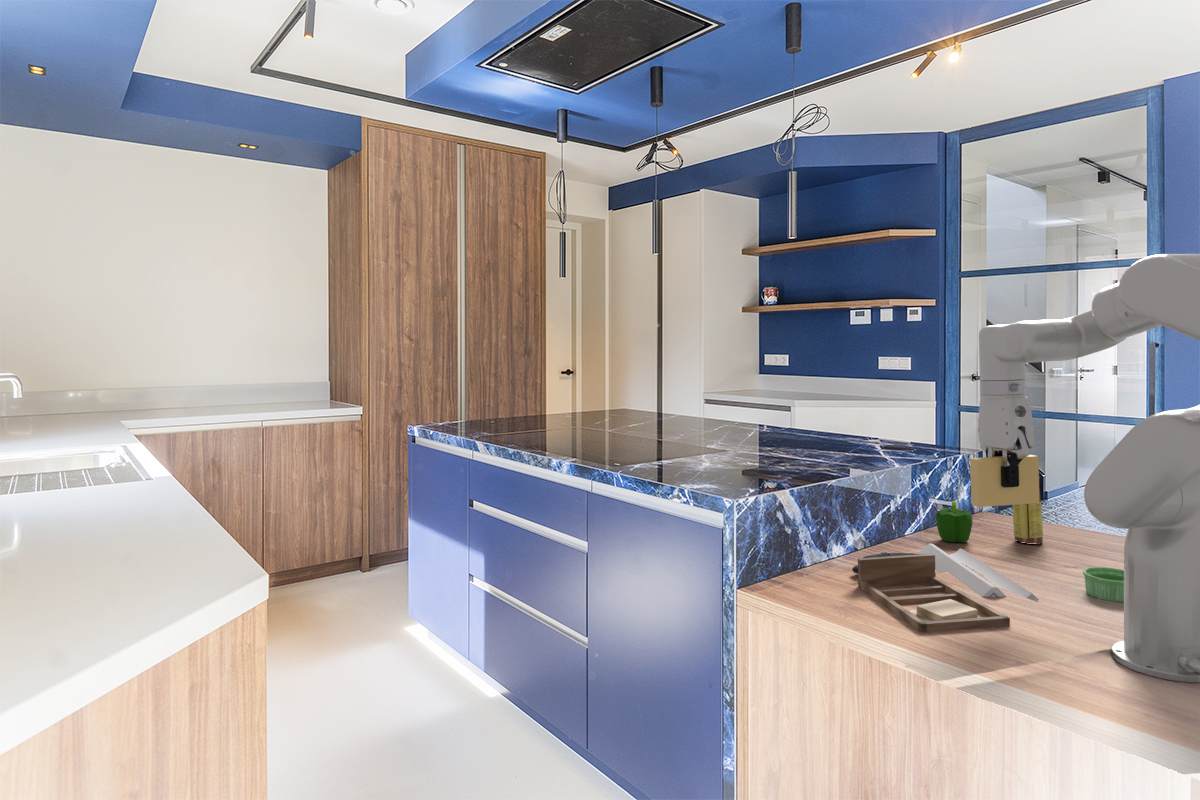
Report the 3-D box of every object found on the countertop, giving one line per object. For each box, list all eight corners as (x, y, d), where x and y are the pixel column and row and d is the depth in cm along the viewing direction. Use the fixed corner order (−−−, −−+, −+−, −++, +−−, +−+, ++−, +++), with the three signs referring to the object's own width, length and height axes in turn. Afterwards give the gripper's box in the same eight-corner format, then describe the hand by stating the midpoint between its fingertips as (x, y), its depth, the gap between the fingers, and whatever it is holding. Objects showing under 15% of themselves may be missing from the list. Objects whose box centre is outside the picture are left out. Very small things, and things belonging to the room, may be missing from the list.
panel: (1039, 503, 129) (1038, 456, 129) (979, 507, 128) (978, 459, 128) (1030, 500, 131) (1029, 454, 131) (971, 504, 130) (970, 458, 130)
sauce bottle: (1042, 540, 171) (1042, 462, 170) (1043, 546, 166) (1043, 466, 165) (1012, 537, 175) (1011, 461, 173) (1012, 544, 169) (1011, 465, 168)
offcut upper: (977, 618, 122) (977, 609, 121) (942, 625, 119) (942, 616, 119) (950, 607, 127) (950, 599, 127) (916, 614, 125) (916, 605, 125)
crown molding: (1038, 605, 131) (1038, 586, 131) (973, 606, 132) (973, 588, 132) (965, 557, 162) (965, 542, 162) (913, 558, 163) (913, 543, 163)
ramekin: (1099, 603, 129) (1099, 581, 129) (1073, 587, 138) (1073, 566, 138) (1151, 604, 128) (1151, 581, 127) (1121, 588, 137) (1121, 566, 136)
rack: (1009, 631, 118) (1009, 592, 117) (921, 638, 117) (920, 598, 116) (932, 586, 142) (931, 553, 141) (858, 591, 141) (857, 558, 140)
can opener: (869, 585, 145) (868, 559, 145) (849, 575, 152) (848, 550, 151) (938, 574, 150) (937, 549, 149) (915, 565, 156) (915, 542, 156)
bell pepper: (966, 547, 168) (965, 507, 168) (931, 541, 174) (931, 503, 174) (978, 540, 174) (977, 501, 173) (944, 535, 180) (943, 498, 179)
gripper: (1052, 389, 121) (1054, 491, 122) (993, 387, 137) (995, 477, 138) (1012, 391, 120) (1014, 494, 121) (958, 389, 136) (960, 480, 137)
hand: (1004, 484), depth 130 cm, fingers closed on panel, 2 cm apart
